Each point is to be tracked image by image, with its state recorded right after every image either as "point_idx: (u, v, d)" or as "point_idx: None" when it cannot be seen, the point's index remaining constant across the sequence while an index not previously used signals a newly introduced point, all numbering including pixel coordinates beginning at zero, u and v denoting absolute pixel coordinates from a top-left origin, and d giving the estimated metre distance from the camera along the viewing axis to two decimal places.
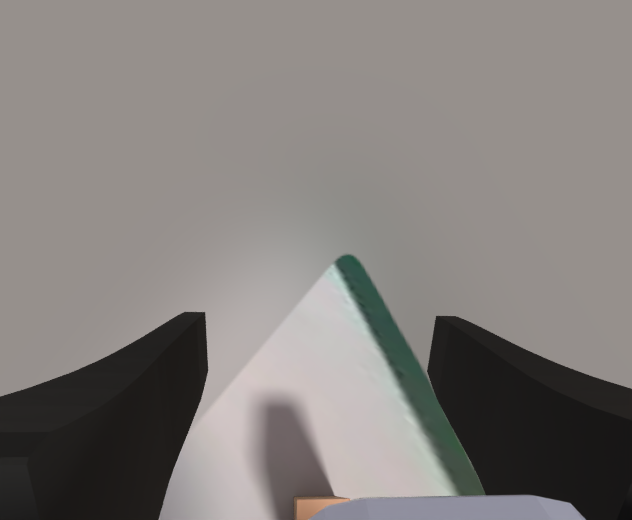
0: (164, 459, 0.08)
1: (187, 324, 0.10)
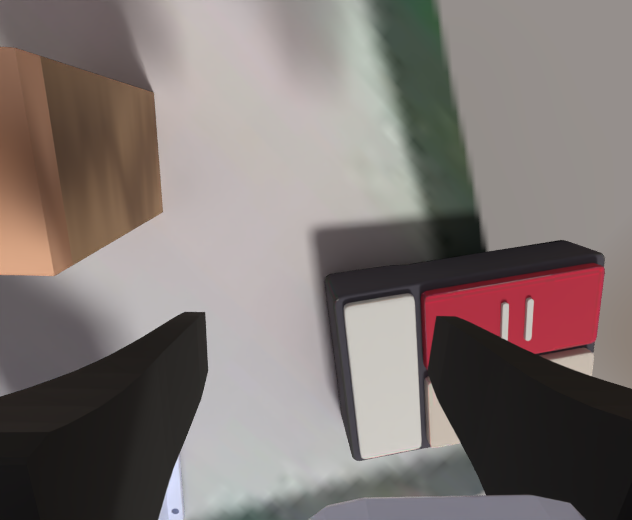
0: (164, 459, 0.08)
1: (187, 324, 0.10)
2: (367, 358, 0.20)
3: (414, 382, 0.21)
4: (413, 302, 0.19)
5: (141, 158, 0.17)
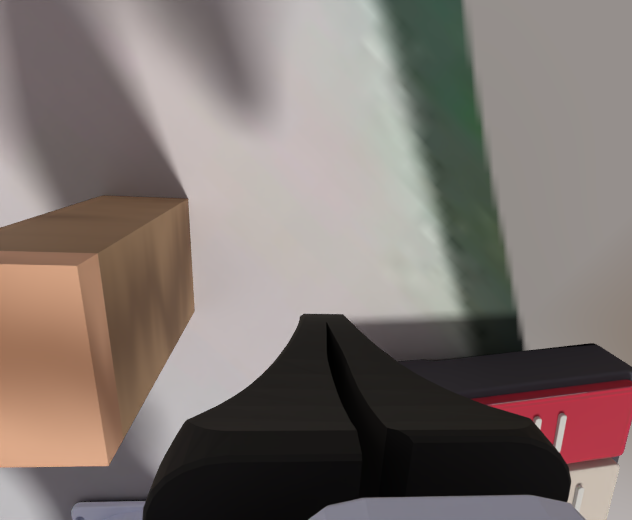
0: None
1: (323, 326, 0.10)
2: None
3: None
4: None
5: (177, 274, 0.17)
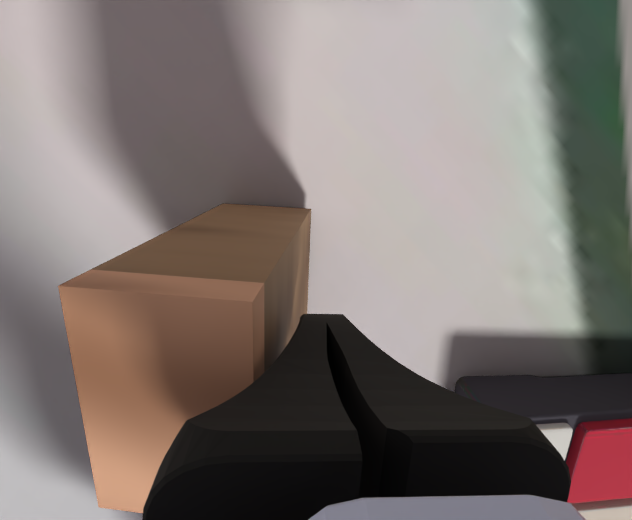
0: None
1: (323, 326, 0.10)
2: None
3: None
4: (571, 434, 0.18)
5: (301, 293, 0.15)
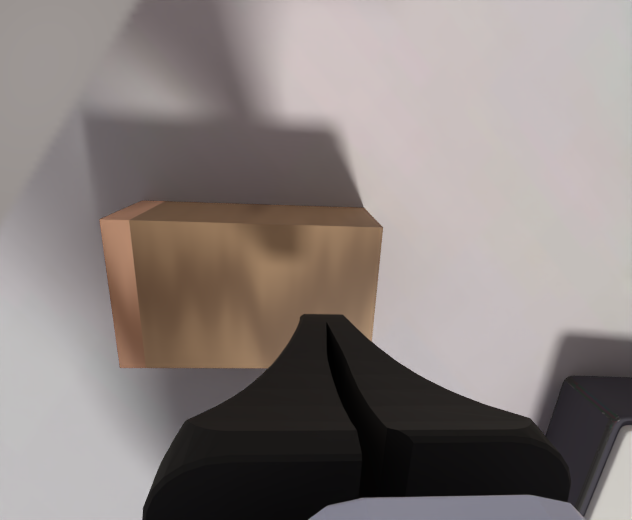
0: None
1: (323, 326, 0.10)
2: (623, 481, 0.19)
3: None
4: None
5: (313, 302, 0.15)
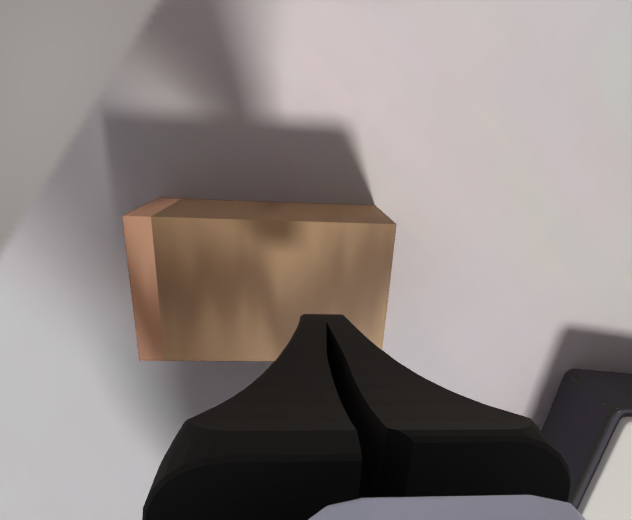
0: None
1: (323, 326, 0.10)
2: (619, 472, 0.20)
3: None
4: None
5: (327, 296, 0.15)
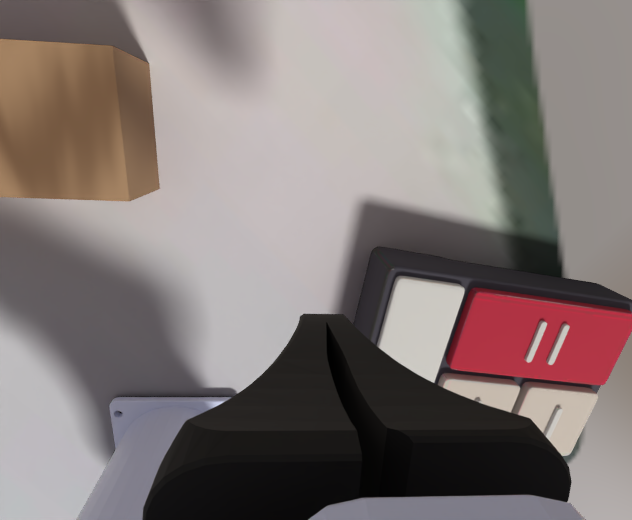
0: None
1: (322, 326, 0.10)
2: (399, 336, 0.20)
3: (433, 374, 0.21)
4: (462, 294, 0.19)
5: (59, 126, 0.15)
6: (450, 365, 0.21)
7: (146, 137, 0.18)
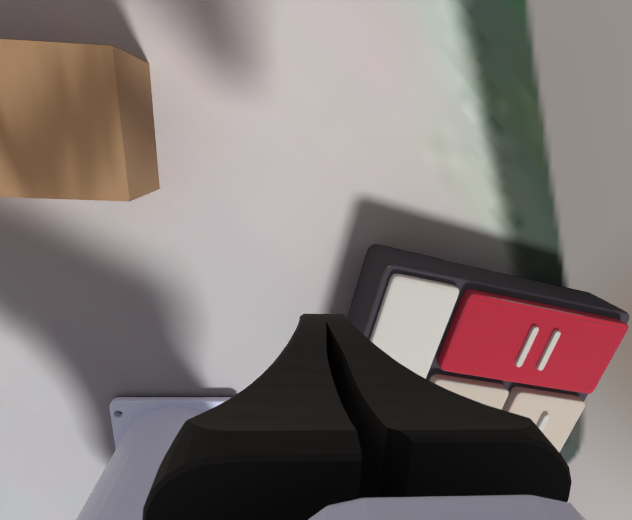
0: None
1: (322, 326, 0.10)
2: (392, 334, 0.20)
3: (423, 374, 0.21)
4: (457, 295, 0.19)
5: (59, 126, 0.15)
6: (441, 366, 0.21)
7: (146, 137, 0.18)
